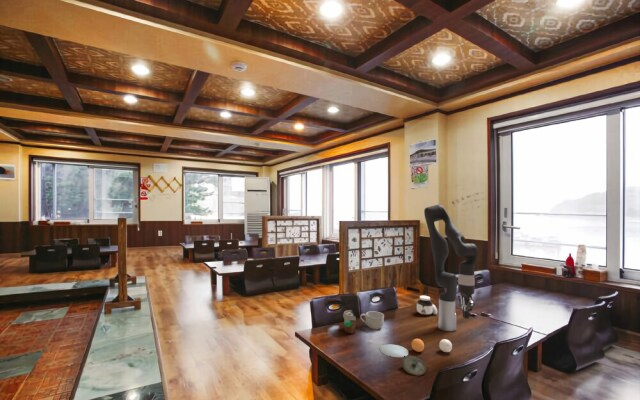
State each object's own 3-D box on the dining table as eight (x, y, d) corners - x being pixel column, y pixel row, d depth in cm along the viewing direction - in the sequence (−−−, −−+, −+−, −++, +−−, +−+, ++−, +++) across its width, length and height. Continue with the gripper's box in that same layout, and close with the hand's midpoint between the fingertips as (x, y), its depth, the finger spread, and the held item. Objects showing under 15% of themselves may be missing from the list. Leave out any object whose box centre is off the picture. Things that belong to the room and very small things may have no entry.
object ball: (421, 348, 160) (421, 336, 160) (425, 354, 154) (426, 341, 154) (409, 348, 160) (410, 336, 160) (413, 353, 154) (414, 341, 154)
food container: (341, 326, 187) (341, 309, 187) (351, 326, 187) (351, 309, 188) (344, 335, 175) (345, 316, 175) (355, 334, 175) (355, 316, 175)
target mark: (403, 344, 164) (403, 344, 164) (412, 357, 150) (412, 357, 150) (377, 344, 163) (377, 344, 163) (383, 357, 149) (383, 356, 149)
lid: (421, 364, 143) (421, 353, 143) (430, 376, 133) (430, 364, 134) (398, 364, 143) (398, 353, 143) (405, 376, 133) (405, 364, 133)
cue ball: (448, 349, 160) (448, 337, 161) (454, 354, 154) (454, 342, 155) (437, 348, 160) (437, 337, 160) (442, 354, 154) (442, 342, 154)
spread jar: (414, 313, 215) (415, 296, 215) (423, 310, 223) (423, 293, 223) (431, 318, 206) (431, 300, 207) (439, 314, 214) (439, 297, 214)
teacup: (384, 325, 190) (385, 312, 190) (382, 332, 180) (382, 318, 180) (362, 322, 195) (362, 309, 195) (358, 328, 185) (358, 314, 185)
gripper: (480, 286, 152) (480, 322, 151) (467, 280, 165) (466, 313, 165) (465, 286, 152) (464, 322, 151) (452, 280, 165) (452, 313, 165)
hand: (465, 317), depth 158 cm, fingers closed
